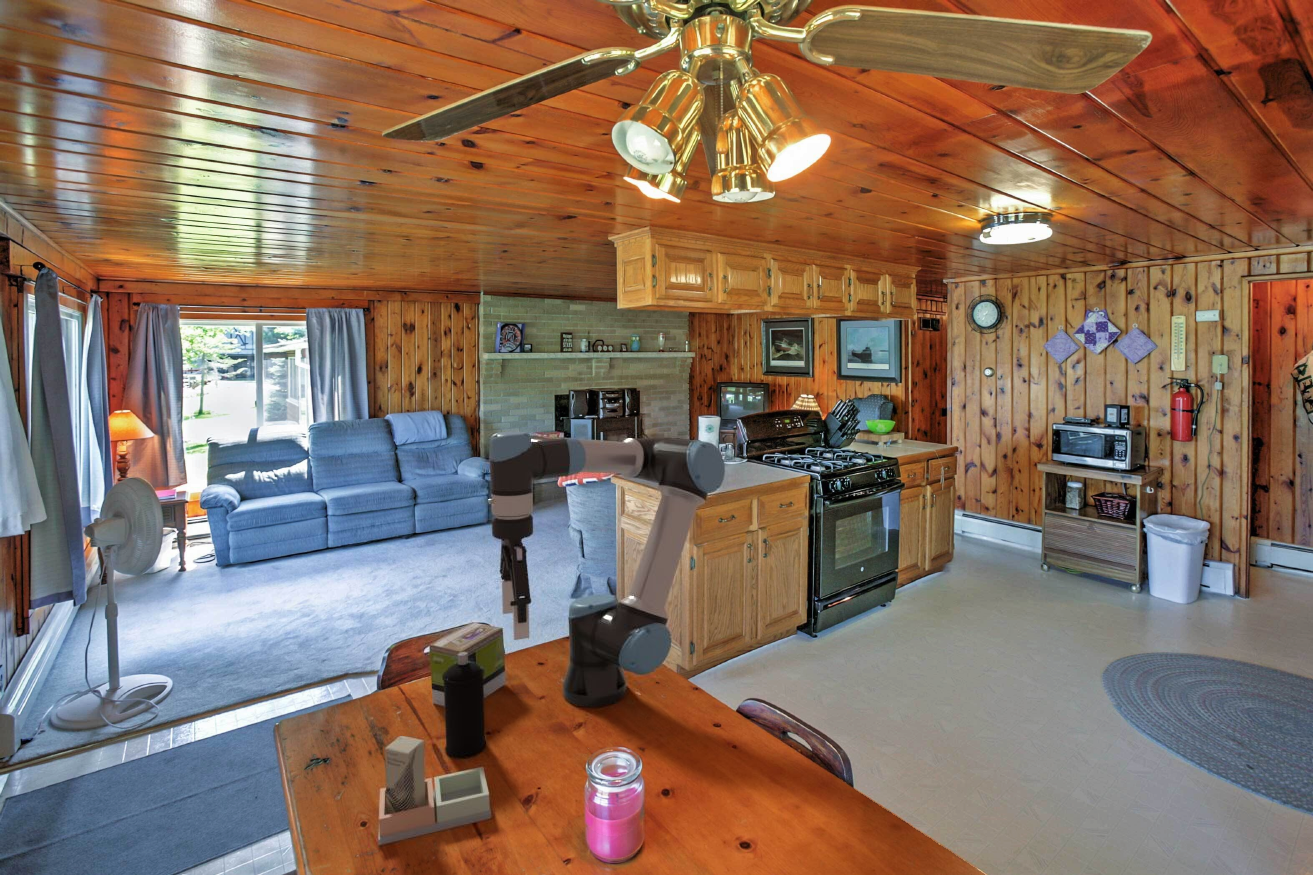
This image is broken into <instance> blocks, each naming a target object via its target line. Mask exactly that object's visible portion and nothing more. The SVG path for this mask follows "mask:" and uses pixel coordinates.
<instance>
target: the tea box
mask: <svg viewBox="0 0 1313 875" xmlns="http://www.w3.org/2000/svg"><path fill="white" fill-rule="evenodd" d="M504 644H505V642H504V628H503V627H500V626H494V625H488V624H483V623H477V622H473V621H472V622H470V623H468V624H466V625H464V626H462V627H460V628H459V629H456V630H455V631H453V632H450V633H449V634H447V635H445V636H443V637H440V638H439V639H438V640H436V641H434V642H431V643H429V645H428V646H429V661H430V663H429V664H430V665H429V666H430V676H431V678H430V680H431V696H432V697H431V698H432V703H433V704H435V705H439V706H442V707H444V708H445V701H444V681H443V679H442V675H443V674H444V672H445V671H446V670H447V669H448V668H449V667H450V666H452V665H454V664H456V663H458V653H460V652H467V653H468V661H469V662H474V663H476V664H478V665H479V666H480V667H482V668H483V669H484V675H483V687H484V699H485V698H487V697H488V696H490V695H491V694H493V693H494V692H496V691H497V690H498V689H500V688H502V687H504V686H505V685H506V684H507V675H506V662H505V661H506V659H505V658H506V656H505V645H504Z"/></svg>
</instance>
